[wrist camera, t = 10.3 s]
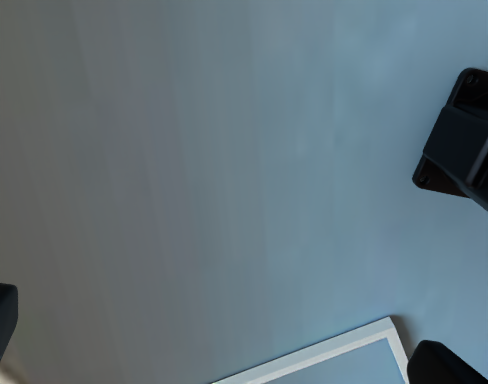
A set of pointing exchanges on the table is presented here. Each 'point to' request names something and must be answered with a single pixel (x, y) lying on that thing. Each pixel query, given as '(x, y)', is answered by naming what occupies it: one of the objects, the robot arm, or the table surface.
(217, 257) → the table surface
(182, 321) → the table surface
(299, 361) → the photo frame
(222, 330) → the table surface
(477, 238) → the table surface
